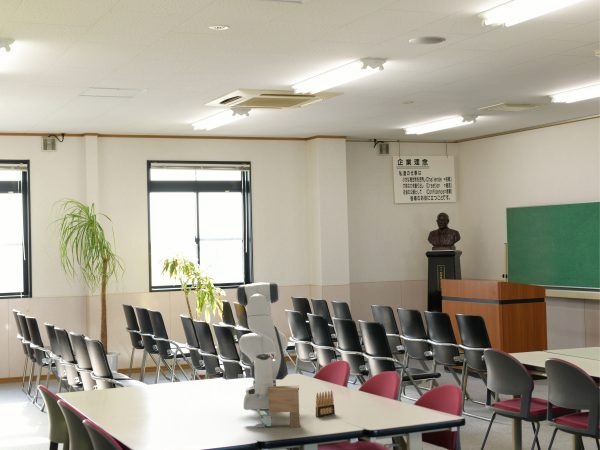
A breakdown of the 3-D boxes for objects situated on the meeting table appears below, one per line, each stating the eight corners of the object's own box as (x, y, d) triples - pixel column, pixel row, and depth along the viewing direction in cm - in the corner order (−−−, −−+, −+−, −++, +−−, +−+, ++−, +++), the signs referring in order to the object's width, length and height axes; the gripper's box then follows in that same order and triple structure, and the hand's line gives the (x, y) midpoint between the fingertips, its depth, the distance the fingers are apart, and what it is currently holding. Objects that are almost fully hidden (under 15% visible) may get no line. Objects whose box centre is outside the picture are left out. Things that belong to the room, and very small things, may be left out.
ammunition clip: (317, 417, 436) (317, 392, 436) (315, 417, 438) (314, 392, 438) (335, 414, 443) (334, 390, 443) (332, 414, 444) (331, 389, 444)
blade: (260, 419, 437) (259, 411, 437) (264, 419, 437) (263, 410, 437) (266, 426, 415) (266, 417, 415) (271, 425, 416) (270, 417, 416)
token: (255, 426, 420) (255, 424, 420) (265, 426, 420) (265, 423, 420) (255, 428, 415) (255, 426, 415) (266, 428, 415) (266, 425, 415)
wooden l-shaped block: (269, 425, 422) (267, 386, 422) (300, 423, 422) (298, 385, 423) (268, 428, 414) (267, 389, 415) (300, 426, 415) (299, 387, 415)
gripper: (285, 387, 430) (286, 416, 430) (243, 388, 430) (244, 417, 430) (286, 389, 424) (287, 418, 424) (242, 391, 424) (243, 420, 423)
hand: (265, 418), depth 427 cm, fingers closed on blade, 2 cm apart
